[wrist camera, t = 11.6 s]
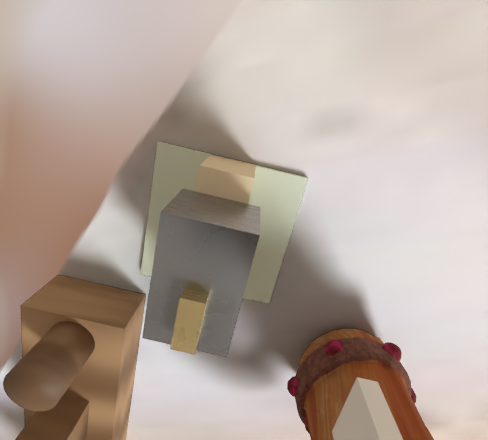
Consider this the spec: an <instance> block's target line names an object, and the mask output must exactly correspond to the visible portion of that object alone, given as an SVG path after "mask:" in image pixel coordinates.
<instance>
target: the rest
mask: <svg viewBox="0 0 488 440" xmlns="http://www.w3.org/2000/svg"><path fill="white" fill-rule="evenodd" d="M307 181H308V177H304V176H300V175H296V174H292V173H288V172H283V171H279V170H275V169H271V168H267V167H263V166H259V165H255V164H250V163H246V162H242V161H238V160H234V159H230V158H226V157H222V156H218V155H213V154H209V153H205V152H201V151H197V150H193V149H189V148H185V147H180V146H176V145H172V144H168V143H164V142H160V141H159V142H157V149H156V157H155V164H154V172H153V180H152V188H151V196H150V203H149V211H148V219H147V227H146V235H145V243H144V250H143V258H142V266H141V275H145V276H150V277H151V275H152V268H153V261H154V254H155V247H156V240H157V233H158V226H159V219H160V212H161V211H162V210H163V209H164V208H165V207H166V206H167V204H168V203H169V202H170V201H171V200H172V199H173V198H174V197H175V196H176V195H177V194H178V193H179V192H180V191H181V190H182V189H188V190H192V191H196V192H200V193H204V194H209V195H213V196H217V197H221V198H225V199H229V200H234V201H238V202H242V203H246V204H250V205H255V206H259V207H260V237H259V240H258V244H257V248H256V251H255V255H254V259H253V262H252V266H251V270H250V273H249V277H248V280H247V284H246V288H245V291H244V295H243V298H245V299H250V300H254V301H258V302H263V303H267V304H269V303H270V300H271V297H272V293H273V290H274V287H275V284H276V281H277V277H278V274H279V271H280V268H281V265H282V261H283V258H284V255H285V252H286V249H287V245H288V242H289V239H290V236H291V233H292V229H293V226H294V223H295V220H296V217H297V213H298V210H299V207H300V204H301V201H302V197H303V194H304V191H305V188H306V185H307Z"/></svg>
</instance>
